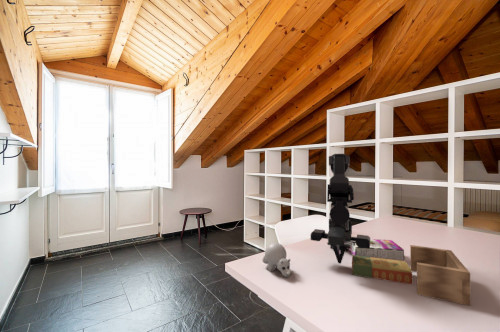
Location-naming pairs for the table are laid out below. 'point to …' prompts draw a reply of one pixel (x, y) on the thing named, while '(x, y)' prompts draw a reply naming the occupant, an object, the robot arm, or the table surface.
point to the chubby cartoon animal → (277, 258)
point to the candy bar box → (380, 250)
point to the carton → (382, 269)
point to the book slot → (440, 274)
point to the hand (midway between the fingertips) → (339, 263)
